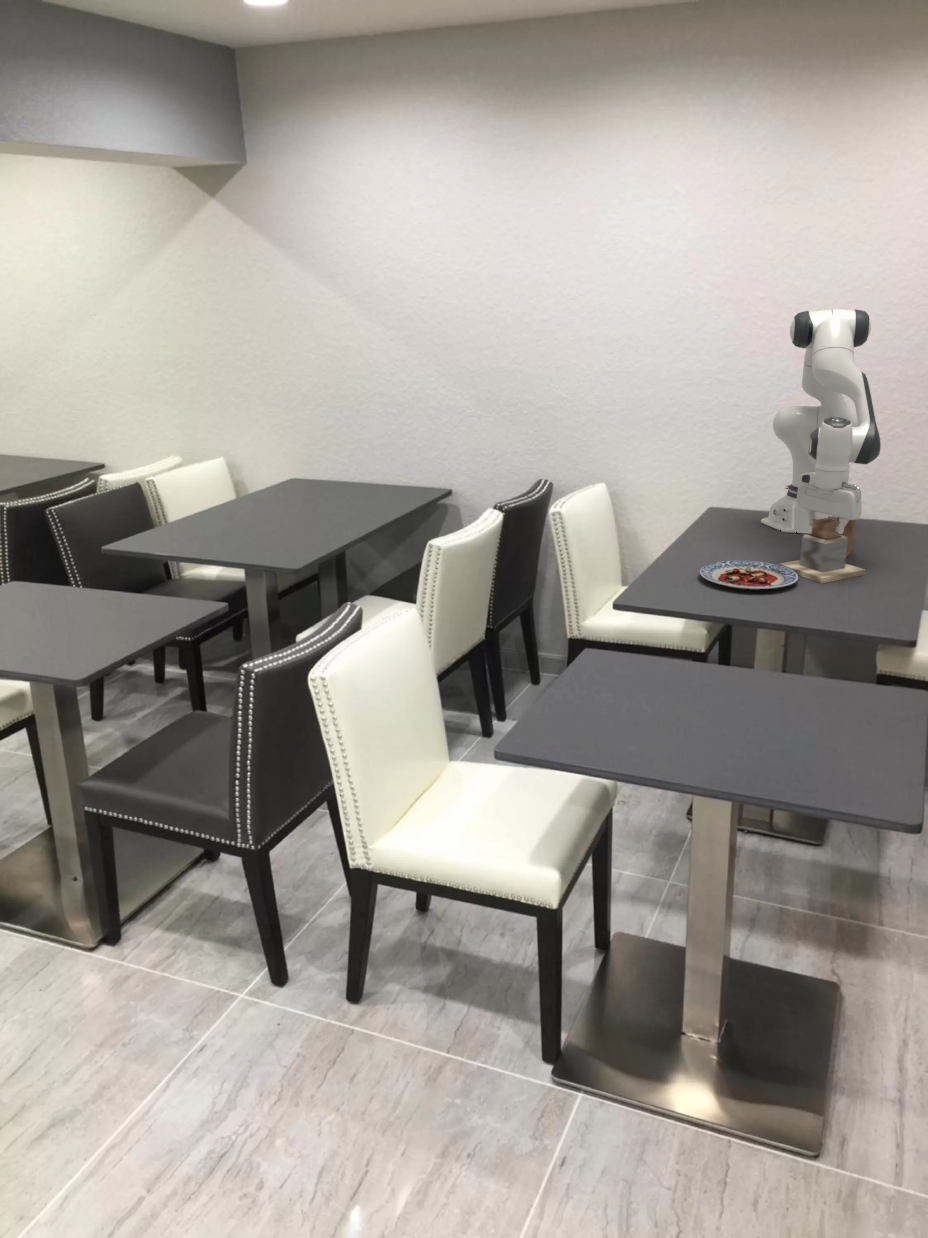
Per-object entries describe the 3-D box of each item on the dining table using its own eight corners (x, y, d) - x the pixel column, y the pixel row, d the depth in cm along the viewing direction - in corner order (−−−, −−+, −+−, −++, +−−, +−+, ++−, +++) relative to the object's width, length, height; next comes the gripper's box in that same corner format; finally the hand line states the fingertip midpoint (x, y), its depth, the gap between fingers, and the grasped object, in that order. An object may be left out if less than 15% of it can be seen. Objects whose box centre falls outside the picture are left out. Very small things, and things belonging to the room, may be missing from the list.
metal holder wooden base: (778, 568, 284) (782, 533, 281) (820, 561, 291) (824, 526, 288) (821, 583, 271) (825, 546, 267) (864, 574, 278) (869, 538, 274)
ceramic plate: (794, 599, 259) (795, 588, 258) (692, 590, 267) (693, 579, 266) (799, 572, 282) (800, 562, 281) (705, 564, 290) (706, 554, 289)
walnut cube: (811, 537, 279) (812, 520, 277) (824, 535, 281) (826, 517, 279) (824, 541, 275) (826, 523, 273) (838, 539, 277) (840, 521, 275)
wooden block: (845, 559, 292) (852, 498, 286) (829, 557, 294) (835, 496, 289) (852, 552, 299) (859, 492, 294) (836, 550, 302) (843, 490, 296)
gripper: (870, 484, 265) (864, 536, 269) (812, 472, 282) (807, 520, 287) (852, 487, 262) (846, 539, 267) (795, 474, 279) (790, 523, 284)
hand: (825, 529), depth 277 cm, fingers open, 8 cm apart
